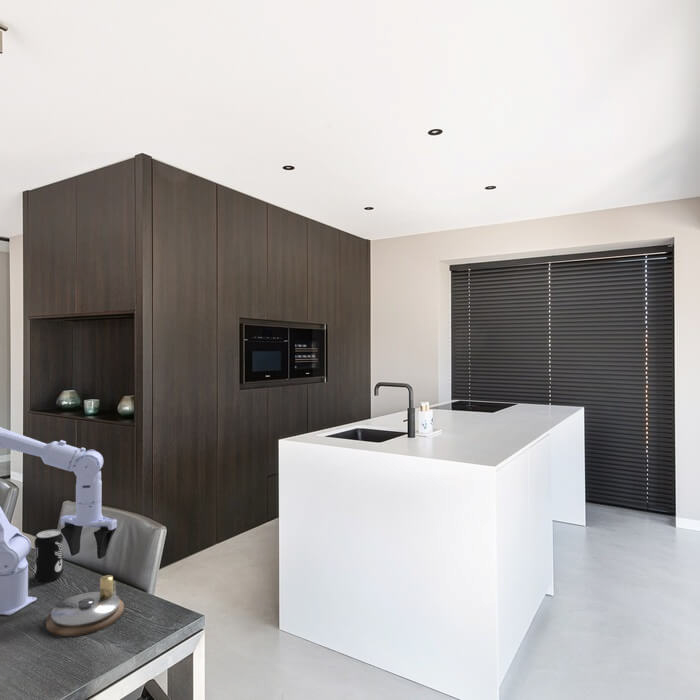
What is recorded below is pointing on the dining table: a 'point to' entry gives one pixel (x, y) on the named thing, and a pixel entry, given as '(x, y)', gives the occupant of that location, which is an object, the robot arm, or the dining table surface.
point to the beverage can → (48, 555)
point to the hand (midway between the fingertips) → (88, 555)
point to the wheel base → (89, 628)
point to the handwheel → (87, 606)
